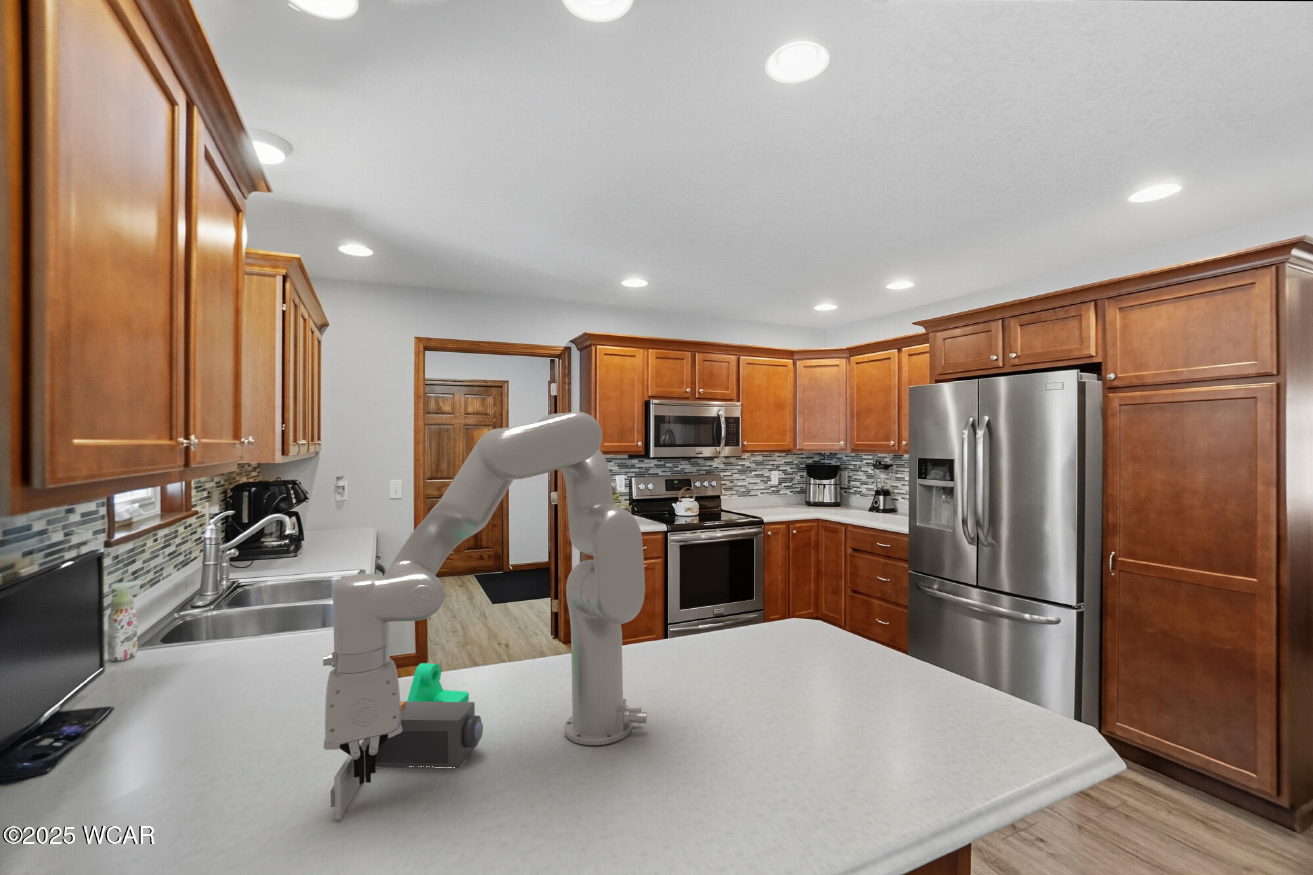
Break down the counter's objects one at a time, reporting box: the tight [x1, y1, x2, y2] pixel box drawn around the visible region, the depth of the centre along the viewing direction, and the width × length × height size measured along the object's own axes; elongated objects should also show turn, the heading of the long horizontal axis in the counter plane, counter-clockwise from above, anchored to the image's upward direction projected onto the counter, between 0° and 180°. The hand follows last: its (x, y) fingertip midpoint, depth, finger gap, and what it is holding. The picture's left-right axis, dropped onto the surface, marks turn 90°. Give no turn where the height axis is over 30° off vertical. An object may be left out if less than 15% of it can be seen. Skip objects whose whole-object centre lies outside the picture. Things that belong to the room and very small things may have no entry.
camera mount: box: [406, 662, 470, 702], centre depth 120 cm, size 12×8×10 cm, turn 170°
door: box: [330, 738, 369, 820], centre depth 94 cm, size 14×1×6 cm, turn 10°
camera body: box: [375, 700, 484, 769], centre depth 104 cm, size 18×7×9 cm, turn 86°
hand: (365, 779), depth 91 cm, fingers closed
